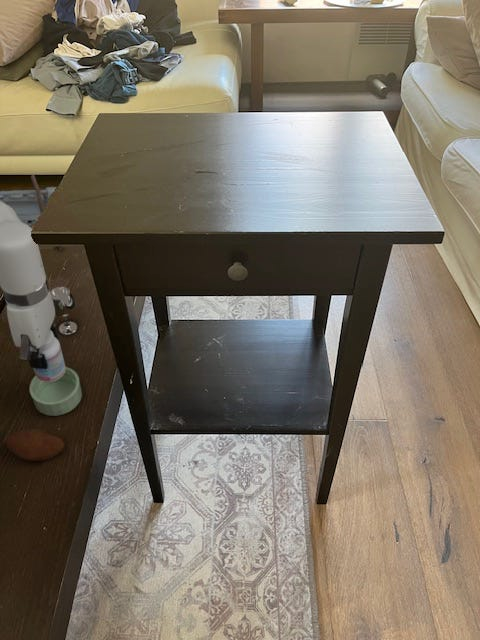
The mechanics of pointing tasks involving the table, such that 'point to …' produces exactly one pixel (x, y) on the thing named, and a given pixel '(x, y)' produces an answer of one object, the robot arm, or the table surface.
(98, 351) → the table surface
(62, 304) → the wineglass
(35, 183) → the natural artifact
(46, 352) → the pill bottle
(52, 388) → the dish
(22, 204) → the toy train
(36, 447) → the potato
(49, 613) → the table surface
